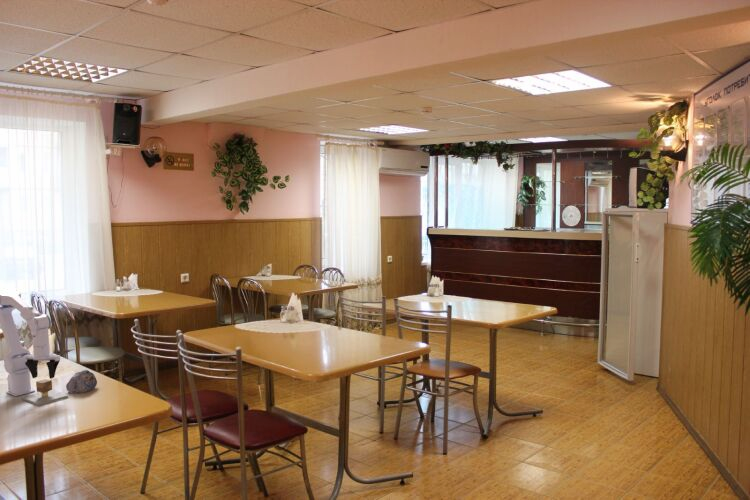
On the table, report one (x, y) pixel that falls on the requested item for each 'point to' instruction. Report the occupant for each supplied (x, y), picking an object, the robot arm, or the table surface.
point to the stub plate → (44, 397)
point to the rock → (81, 382)
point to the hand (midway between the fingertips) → (43, 377)
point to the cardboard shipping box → (44, 385)
